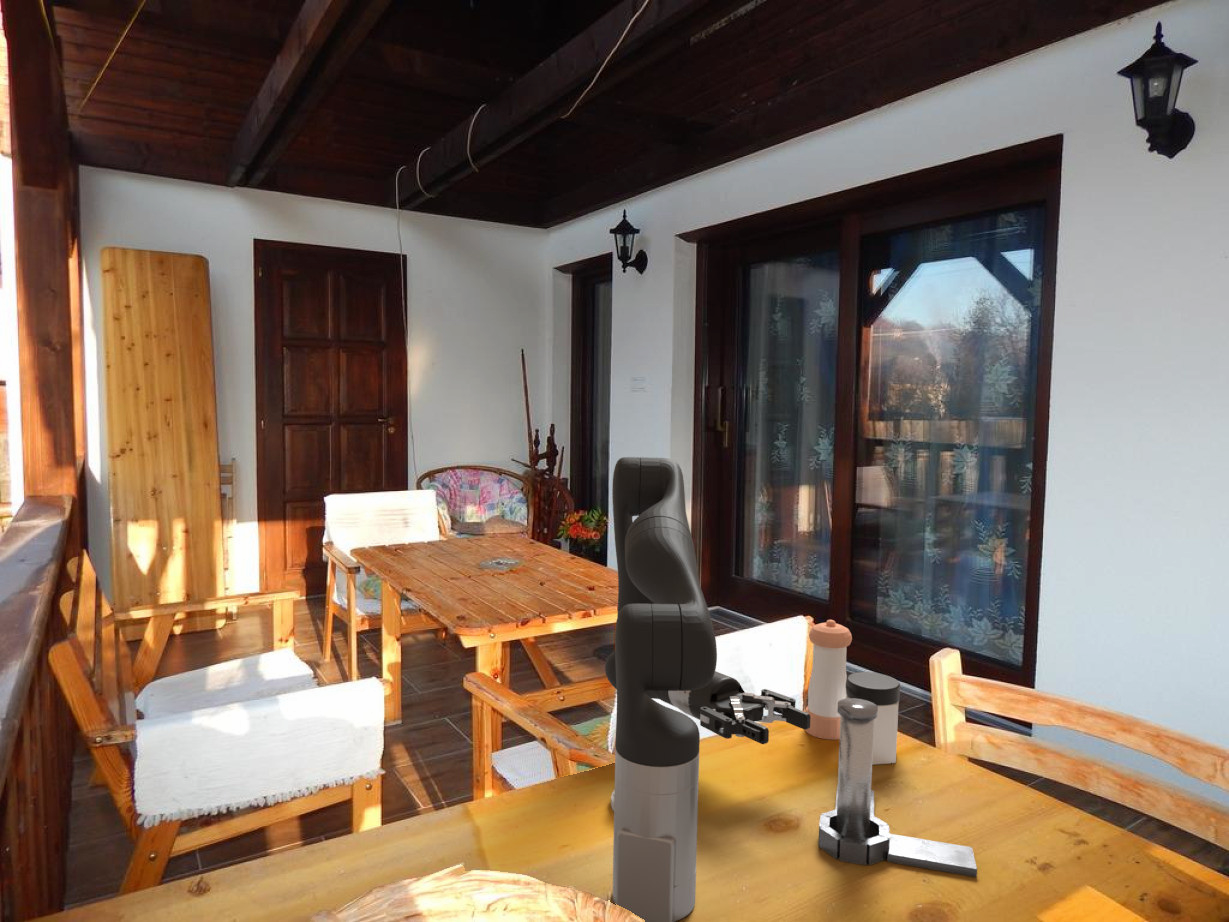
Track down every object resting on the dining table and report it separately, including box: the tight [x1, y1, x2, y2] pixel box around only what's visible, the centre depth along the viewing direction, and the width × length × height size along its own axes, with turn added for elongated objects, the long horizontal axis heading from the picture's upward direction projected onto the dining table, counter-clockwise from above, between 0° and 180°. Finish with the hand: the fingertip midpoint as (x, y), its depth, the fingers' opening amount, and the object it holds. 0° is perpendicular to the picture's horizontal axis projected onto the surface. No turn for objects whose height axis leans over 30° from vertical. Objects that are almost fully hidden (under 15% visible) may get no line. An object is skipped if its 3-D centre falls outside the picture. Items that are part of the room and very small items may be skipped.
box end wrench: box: [817, 784, 978, 878], centre depth 106 cm, size 18×18×2 cm
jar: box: [846, 671, 901, 766], centre depth 129 cm, size 9×8×12 cm
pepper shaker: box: [805, 619, 853, 741], centre depth 138 cm, size 7×7×19 cm
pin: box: [836, 698, 878, 840], centre depth 102 cm, size 5×5×18 cm
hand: (788, 729), depth 110 cm, fingers open, 8 cm apart
